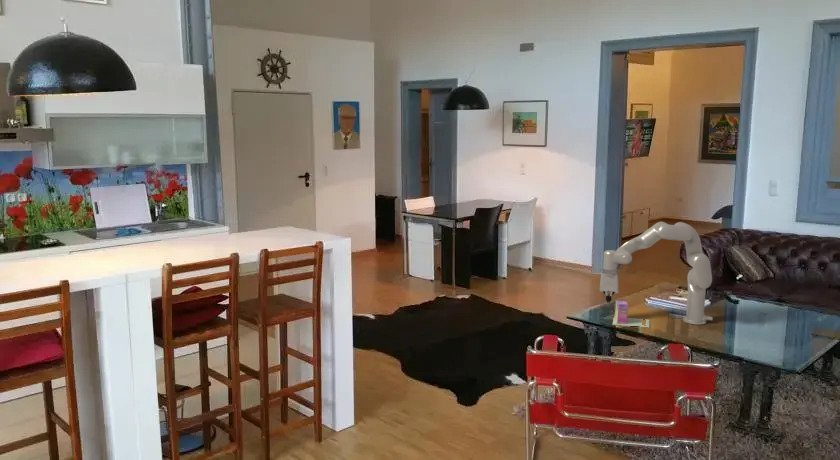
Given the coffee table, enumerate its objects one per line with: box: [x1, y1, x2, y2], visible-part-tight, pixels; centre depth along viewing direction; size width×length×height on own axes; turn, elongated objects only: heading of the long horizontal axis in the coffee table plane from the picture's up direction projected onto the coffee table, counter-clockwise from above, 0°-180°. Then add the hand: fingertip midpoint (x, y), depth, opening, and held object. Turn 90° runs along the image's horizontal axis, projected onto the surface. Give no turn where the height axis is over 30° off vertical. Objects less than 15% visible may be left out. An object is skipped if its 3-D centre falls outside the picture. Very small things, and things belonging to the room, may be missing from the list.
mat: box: [612, 316, 650, 329], centre depth 389 cm, size 20×14×1 cm
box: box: [614, 298, 629, 324], centre depth 390 cm, size 10×6×12 cm, turn 172°
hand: (608, 302), depth 391 cm, fingers closed
